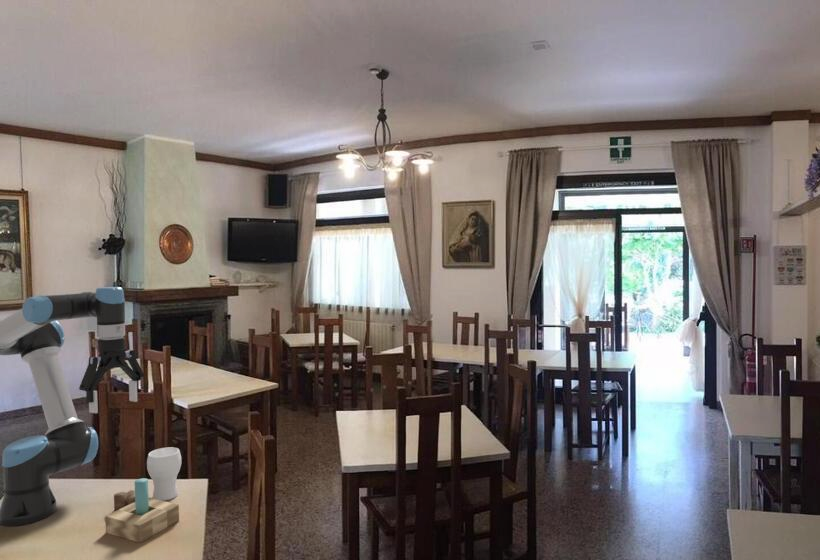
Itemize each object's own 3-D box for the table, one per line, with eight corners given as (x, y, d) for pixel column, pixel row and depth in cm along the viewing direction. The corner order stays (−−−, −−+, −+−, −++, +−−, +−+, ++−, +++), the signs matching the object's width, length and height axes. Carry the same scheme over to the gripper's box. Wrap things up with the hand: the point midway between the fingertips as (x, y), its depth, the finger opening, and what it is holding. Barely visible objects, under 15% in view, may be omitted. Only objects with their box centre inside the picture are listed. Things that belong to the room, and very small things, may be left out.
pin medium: (139, 509, 179) (136, 500, 185) (141, 498, 179) (137, 489, 186) (127, 510, 177) (124, 501, 183) (129, 499, 177) (125, 490, 184)
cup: (169, 504, 181) (168, 459, 181) (140, 501, 184) (139, 456, 183) (188, 490, 192) (187, 447, 191) (161, 488, 194) (160, 445, 193)
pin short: (111, 511, 177) (111, 495, 177) (121, 506, 180) (120, 491, 180) (120, 512, 176) (119, 497, 175) (129, 508, 179) (129, 492, 179)
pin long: (133, 528, 166) (131, 482, 165) (143, 523, 169) (141, 477, 168) (142, 530, 164) (140, 483, 164) (152, 525, 168) (150, 479, 167)
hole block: (105, 532, 163) (105, 516, 163) (146, 512, 176) (145, 496, 176) (139, 542, 158) (139, 525, 157) (179, 520, 170) (178, 504, 170)
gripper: (80, 344, 157) (83, 419, 158) (154, 332, 180) (156, 398, 181) (63, 343, 160) (66, 416, 161) (138, 331, 183) (140, 395, 184)
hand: (114, 406), depth 171 cm, fingers open, 13 cm apart
